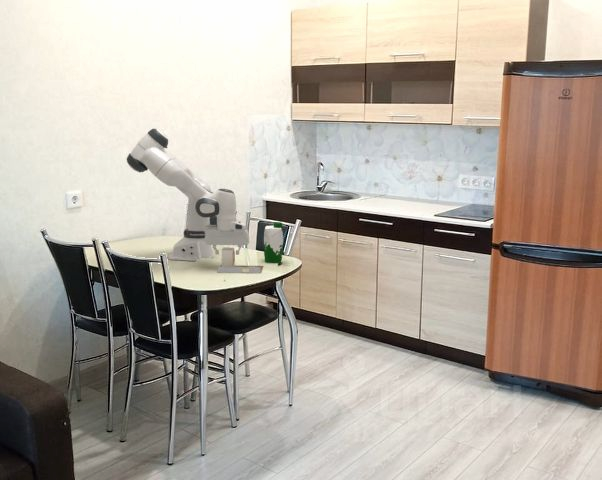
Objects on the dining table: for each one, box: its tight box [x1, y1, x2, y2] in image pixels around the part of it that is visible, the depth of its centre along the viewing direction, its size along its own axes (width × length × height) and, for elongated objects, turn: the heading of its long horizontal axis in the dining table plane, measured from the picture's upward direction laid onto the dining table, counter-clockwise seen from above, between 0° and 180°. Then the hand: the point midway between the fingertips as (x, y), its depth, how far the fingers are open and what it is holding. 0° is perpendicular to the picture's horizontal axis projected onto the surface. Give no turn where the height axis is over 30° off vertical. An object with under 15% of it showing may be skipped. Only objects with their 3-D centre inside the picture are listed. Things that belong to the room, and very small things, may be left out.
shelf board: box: [216, 264, 264, 274], centre depth 291 cm, size 20×14×1 cm
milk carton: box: [263, 221, 284, 266], centre depth 306 cm, size 9×9×20 cm
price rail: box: [217, 266, 261, 274], centre depth 284 cm, size 19×1×2 cm, turn 89°
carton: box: [221, 246, 236, 267], centre depth 292 cm, size 7×5×9 cm
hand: (227, 254), depth 292 cm, fingers open, 8 cm apart
